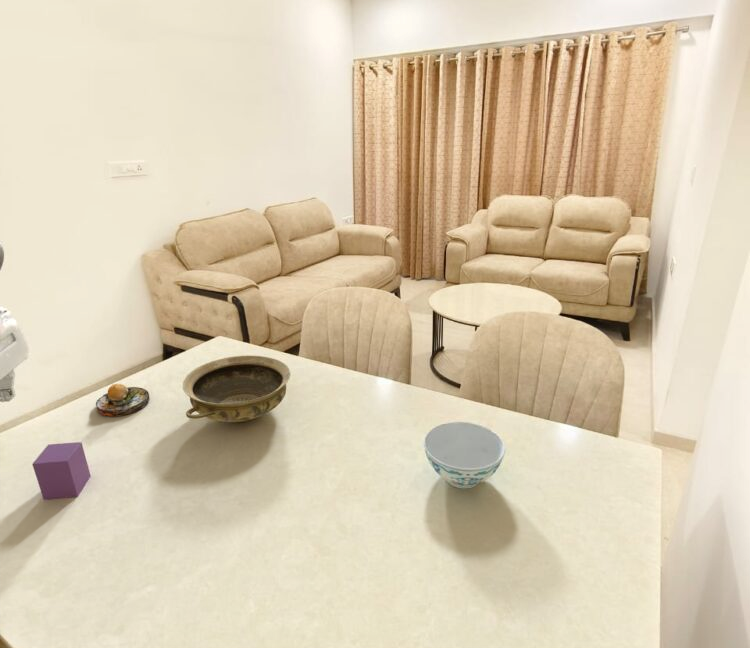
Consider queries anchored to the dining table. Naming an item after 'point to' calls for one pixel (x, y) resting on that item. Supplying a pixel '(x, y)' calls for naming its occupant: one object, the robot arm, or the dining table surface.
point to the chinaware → (463, 452)
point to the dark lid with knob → (122, 400)
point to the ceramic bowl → (236, 388)
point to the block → (62, 470)
